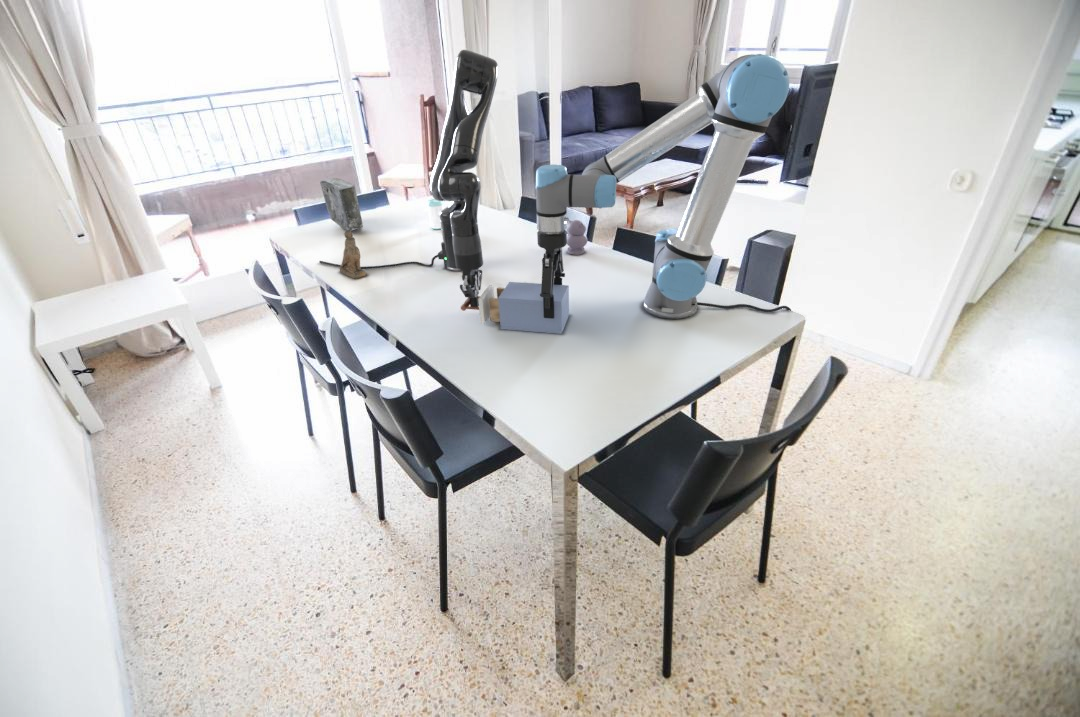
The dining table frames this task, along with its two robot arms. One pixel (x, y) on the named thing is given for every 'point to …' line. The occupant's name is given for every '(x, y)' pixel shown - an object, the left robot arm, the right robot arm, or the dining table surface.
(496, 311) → the drawer
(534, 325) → the cabinet
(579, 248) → the lavender rounded piece
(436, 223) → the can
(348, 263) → the worn brown figurine
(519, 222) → the dining table surface
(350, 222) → the concrete block
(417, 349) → the dining table surface
